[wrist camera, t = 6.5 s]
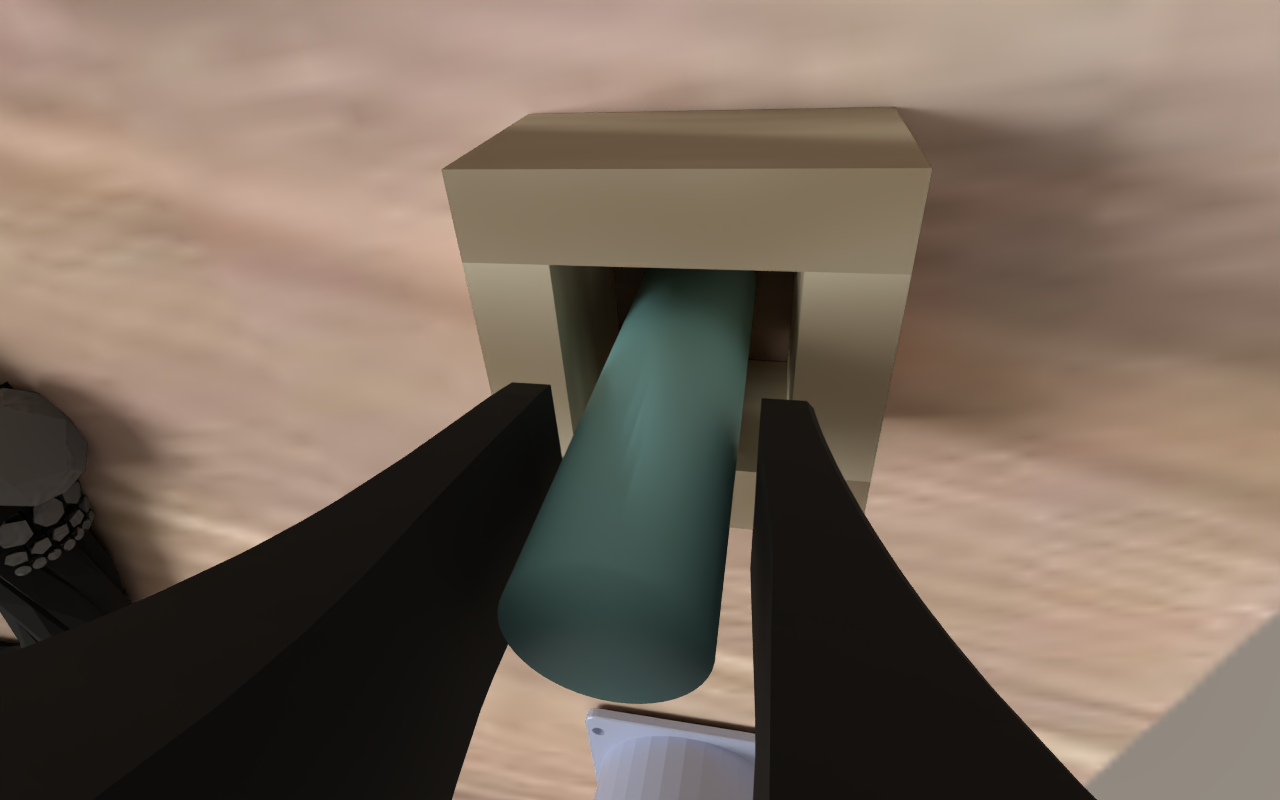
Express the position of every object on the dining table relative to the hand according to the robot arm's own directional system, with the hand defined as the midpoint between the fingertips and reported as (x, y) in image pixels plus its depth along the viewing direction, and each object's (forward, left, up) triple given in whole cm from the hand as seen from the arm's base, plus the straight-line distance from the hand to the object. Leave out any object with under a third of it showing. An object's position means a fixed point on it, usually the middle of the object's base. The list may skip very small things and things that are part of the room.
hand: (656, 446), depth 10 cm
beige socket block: (0, 0, -6) cm, 6 cm away
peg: (0, 0, -6) cm, 6 cm away
